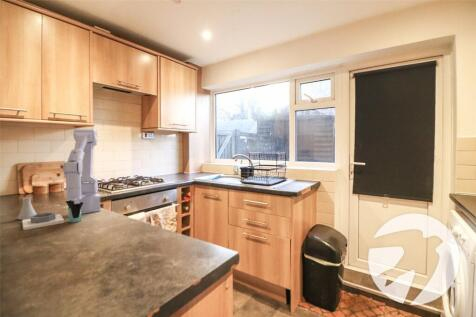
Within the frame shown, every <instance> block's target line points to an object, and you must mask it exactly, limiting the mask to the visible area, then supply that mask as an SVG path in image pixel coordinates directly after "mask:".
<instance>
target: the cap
mask: <svg viewBox="0 0 476 317" xmlns="http://www.w3.org/2000/svg"><path fill="white" fill-rule="evenodd" d="M67 211H68V222H69V223H73V224H74V223H78V222H81V221H82V214H81V210H80V215H79V218H73V216H72V212H71V209H70V208H69V207H68V209H67Z"/></svg>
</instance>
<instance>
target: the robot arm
mask: <svg viewBox="0 0 476 317" xmlns="http://www.w3.org/2000/svg"><path fill="white" fill-rule="evenodd" d="M72 135H73V139H74V141H75V143H74V144H75V145H74V149H71V151H70V152H69V155H68V158H67V161H66V162H63V165H62V171H63V174H64V175H63V176H64V179H65V187H66V188H65V192H66V194H65V195H66V198H65V199H66V200H65V203H66V205H67V206H68V209H69V208H70V209H71V212H72V216H73V218H79V215H80V210H81V215H83V214H89V213H95V212H100V211H101V196H100V193H99V183H98V180H97V179H96V178H95V177H93V158H94V147H95V146H97V144H98V132H97V129H95V128H91V129H89V128H85V129H84V128H75V129H74V130H73V134H72Z"/></svg>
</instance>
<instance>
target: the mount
mask: <svg viewBox="0 0 476 317" xmlns="http://www.w3.org/2000/svg"><path fill="white" fill-rule="evenodd" d="M30 218H31V219H24V220H22V229H23V230H22V231H25V230H26V231H27V230H32V229H37V228H42V227H43V228H44V227H49V226H53V225H60V224H64V223H65V219H64V218H63V216H62V215H61V214H60V213H59V214H56V213H55V212H43V213H42V212H41V213H36V215H33V216H30Z"/></svg>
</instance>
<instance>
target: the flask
mask: <svg viewBox="0 0 476 317" xmlns="http://www.w3.org/2000/svg"><path fill="white" fill-rule="evenodd" d="M31 199H32V197H30V196H28V197H27V196H26V197H22V198H21V200H22V206H21V208H20V211H19V214H18V216H17V218H16V220H20V221H21V220H25V219H31V218H30V216H33V215H36V214H37V212H36V211H35V209H34V207H33V205H32V202H31Z"/></svg>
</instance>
